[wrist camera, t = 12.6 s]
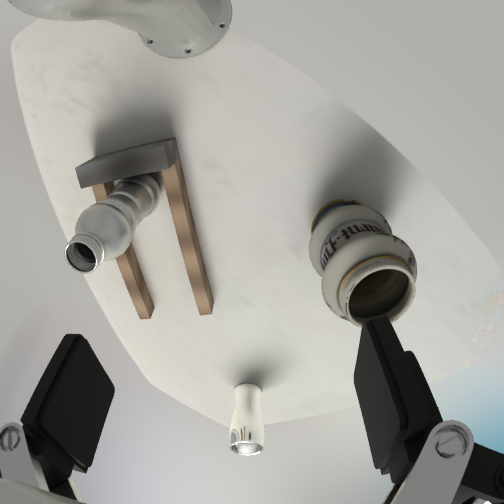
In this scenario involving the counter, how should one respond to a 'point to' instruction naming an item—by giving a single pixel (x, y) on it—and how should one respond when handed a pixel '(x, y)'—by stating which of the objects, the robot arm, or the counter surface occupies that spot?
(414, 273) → the apothecary jar
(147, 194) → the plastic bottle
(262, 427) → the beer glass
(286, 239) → the counter surface
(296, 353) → the counter surface
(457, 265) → the counter surface
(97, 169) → the guide track
